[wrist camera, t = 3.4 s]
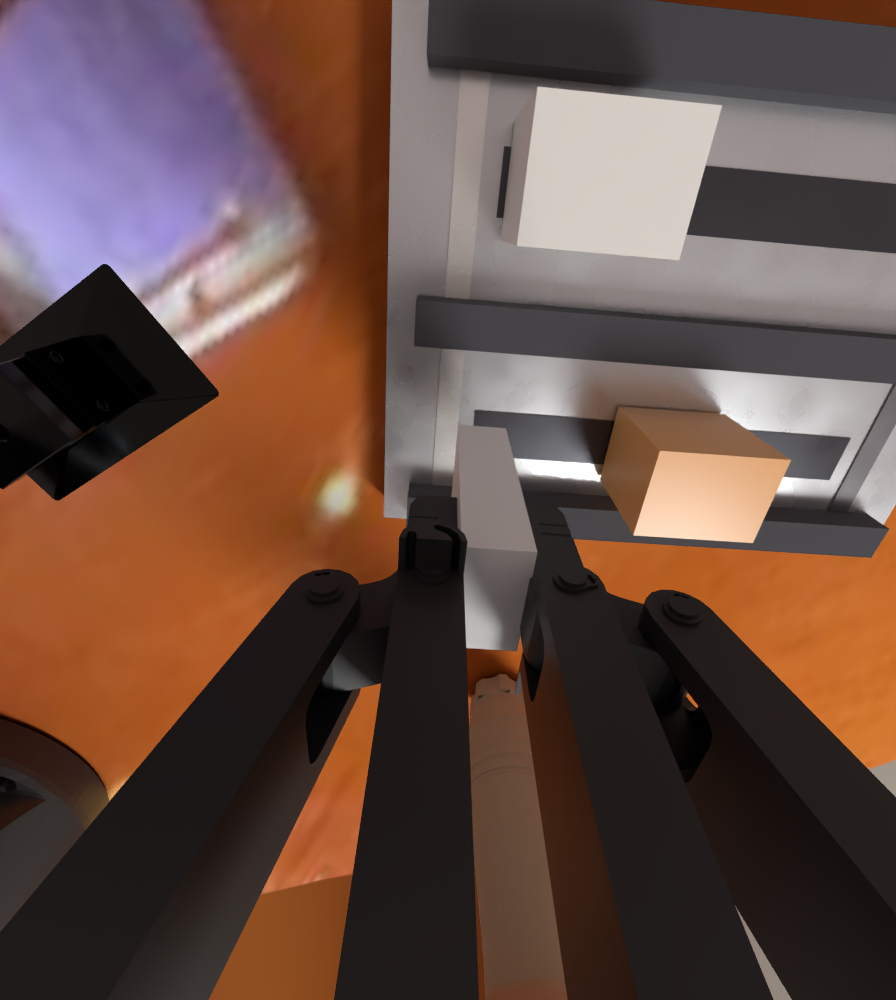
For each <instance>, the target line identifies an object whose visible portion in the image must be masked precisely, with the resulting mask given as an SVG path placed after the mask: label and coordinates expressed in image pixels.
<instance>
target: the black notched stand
mask: <svg viewBox="0 0 896 1000" xmlns="http://www.w3.org/2000/svg"><path fill="white" fill-rule="evenodd" d="M218 395H219V392H218V390H217V389H216V388H215V387H214V386H213V384H212V383H211V382H210V381H209V380H208V379H207V378H206V376H205V375H204V374H203V373H202V372H201V371H200V369H199V368H198V367H197V366H196V365H195V364H194V363H193V361H192V360H191V359H190V358H189V357H188V356H187V355H186V353H185V352H184V351H183V350H182V349H181V348H180V346H179V345H178V344H177V343H176V342H175V341H174V340H173V338H172V337H171V336H170V335H169V334H168V333H167V332H166V330H165V329H164V328H163V327H162V326H161V325H160V324H159V322H158V321H157V320H156V319H155V318H154V317H153V315H152V314H151V313H150V312H149V311H148V310H147V309H146V307H145V306H144V305H143V304H142V303H141V302H140V301H139V299H138V298H137V297H136V296H135V295H134V294H133V292H132V291H131V290H130V289H129V288H128V287H127V286H126V284H125V283H124V282H123V281H122V280H121V279H120V278H119V276H118V275H117V274H116V273H115V272H114V271H113V270H112V268H111V267H110V266H108V265H106V264H103V265H101V266H100V267H98V268H97V269H96V270H95V271H93V272H92V273H91V274H90V275H88V276H87V277H86V278H85V279H83V280H82V281H81V282H80V283H78V284H77V285H76V286H75V287H73V288H72V289H71V290H70V291H68V292H67V293H66V294H65V295H63V296H62V297H61V298H60V299H58V300H57V301H56V302H55V303H53V304H52V305H51V306H50V307H48V308H47V309H46V310H45V311H43V312H42V313H41V314H40V315H38V316H37V317H36V318H35V319H33V320H32V321H31V322H29V323H28V324H27V325H26V326H24V327H23V328H22V329H21V330H19V331H18V332H17V333H16V334H14V335H13V336H12V337H11V338H9V339H8V340H7V341H6V342H4V343H3V344H2V345H1V346H0V488H1V489H4V488H6V487H8V486H9V485H11V484H13V483H14V482H16V481H19V480H20V479H22V478H24V477H25V476H27V475H28V476H29V477H30V478H31V479H33V480H34V481H35V482H36V483H37V484H38V485H39V486H40V487H41V488H42V489H43V490H44V491H45V492H47V493H48V494H49V495H50V496H51V497H52V498H53V499H55V500H61V499H62V498H64V497H65V496H67V495H68V494H70V493H71V492H73V491H74V490H76V489H77V488H79V487H80V486H82V485H83V484H85V483H86V482H88V481H89V480H91V479H93V478H94V477H96V476H97V475H99V474H100V473H102V472H103V471H105V470H106V469H108V468H109V467H111V466H112V465H114V464H115V463H117V462H118V461H120V460H122V459H123V458H125V457H126V456H128V455H129V454H131V453H132V452H134V451H135V450H137V449H138V448H140V447H141V446H143V445H144V444H146V443H147V442H149V441H150V440H152V439H154V438H155V437H157V436H158V435H160V434H161V433H163V432H164V431H166V430H167V429H169V428H170V427H172V426H173V425H175V424H176V423H178V422H179V421H181V420H183V419H184V418H186V417H187V416H189V415H190V414H192V413H193V412H195V411H196V410H198V409H199V408H201V407H202V406H204V405H205V404H207V403H208V402H210V401H211V400H213V399H215V398H216V397H217V396H218Z"/></svg>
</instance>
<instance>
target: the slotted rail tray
mask: <svg viewBox="0 0 896 1000" xmlns="http://www.w3.org/2000/svg"><path fill="white" fill-rule="evenodd" d="M427 61H428V66H429V67H438V68H448V69H458V70H461V69H465V70H474V71H484V72H490V73H497V74H506V75H516V76H526V77H536V78H545V79H555V80H565V81H574V82H584V83H594V84H604V85H613V86H623V87H633V88H643V89H652V90H662V91H672V92H681V93H691V94H701V95H711V96H720V97H730V98H740V99H749V100H759V101H769V102H779V103H788V104H798V105H808V106H818V107H827V108H837V109H847V110H856V111H866V112H876V113H886V114H895V115H896V27H888V26H879V25H870V24H861V23H852V22H842V21H833V20H824V19H815V18H806V17H797V16H788V15H779V14H770V13H761V12H752V11H743V10H734V9H725V8H716V7H707V6H698V5H689V4H680V3H671V2H662V1H653V0H429V9H428V32H427ZM414 346H416V347H429V348H442V349H454V350H467V351H480V352H493V353H505V354H518V355H531V356H543V357H556V358H569V359H582V360H594V361H607V362H620V363H632V364H645V365H658V366H671V367H683V368H696V369H709V370H721V371H734V372H747V373H760V374H772V375H785V376H798V377H810V378H823V379H836V380H849V381H861V382H874V383H887V384H896V335H894V334H882V333H870V332H858V331H846V330H834V329H822V328H810V327H798V326H786V325H774V324H761V323H749V322H737V321H725V320H713V319H701V318H689V317H677V316H665V315H653V314H641V313H629V312H617V311H605V310H593V309H581V308H569V307H557V306H545V305H533V304H521V303H509V302H497V301H485V300H473V299H457V298H445V297H437V296H425V295H418V296H417V299H416V311H415V334H414ZM522 493H523V497H524V501H532V502H546V503H553V504H554V505H555V506H556V507H557V508H558V509H559V510H560V511H561V512H562V513H563V514H564V516H565V519H566V521H567V524H568V528H569V529H570V532H571V537H573V539H582V540H598V541H614V542H630V543H646V544H662V545H677V546H693V547H709V548H725V549H741V550H757V551H773V552H789V553H805V554H820V555H836V556H852V557H868V558H871V557H872V556H873V554H874V552H875V551H876V549H877V548H878V546H879V544H880V543H881V541H882V539H883V538H884V536H885V535H886V533H887V531H888V530H889V529H888V528H887V527H885V526H884V525H883V524H881V523H880V522H878V521H877V520H875V519H874V518H872V517H871V516H870V515H868V514H867V513H855V512H847V513H843V512H828V511H825V510H810V509H795V508H780V507H769V509H768V511H767V514H766V516H765V518H764V520H763V522H762V524H761V527H760V529H759V531H758V533H757V535H756V537H755V539H754V542H753V543H745V542H729V541H713V540H697V539H682V538H666V537H650V536H634V535H633V534H632V532H631V531H630V529H629V527H628V526H627V524H626V522H625V521H624V519H623V517H622V516H621V514H620V512H619V511H618V509H617V507H616V506H615V504H614V502H613V501H612V499H611V497H610V496H601V495H586V494H571V493H556V492H541V491H526V490H522ZM419 495H430V496H443V497H451V495H452V486H439V485H432V484H421V483H409V490H408V497H407V520H406V528H407V524H408V518H409V510H410V504H411V503H412V502H413V501H414V500H415V499H416V498H417V497H418V496H419Z"/></svg>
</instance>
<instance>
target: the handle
mask: <svg viewBox="0 0 896 1000" xmlns="http://www.w3.org/2000/svg"><path fill="white" fill-rule="evenodd" d="M515 686H516V681H514V680H512V679H510V678H509V677H508V676H507V675H506V674H498V675H497V676H495V677H492V678H487V679H484V678H482V679H481V680H480V681H478V682H477V683H476V689H475V694H474V695H473V697H472V699H471V708H470V716H471V717H470V724H469V739H470V767H471V795H472V823H473V848H474V858H475V868H476V878H477V889H478V900H479V912H480V922H481V934H482V945H483V956H484V972H485V973H484V974H485V1000H568V999H567V993H566V986H565V979H564V972H563V965H562V958H561V951H560V944H559V938H558V931H557V924H556V917H555V910H554V903H553V896H552V889H551V882H550V876H549V869H548V862H547V855H546V848H545V841H544V834H543V827H542V820H541V814H540V807H539V800H538V793H537V786H536V779H535V772H534V765H533V759H532V752H531V745H530V738H529V731H528V724H527V717H526V710H525V703H524V697H523V690H522V686H521V691H520V695H514V694H515Z"/></svg>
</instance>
